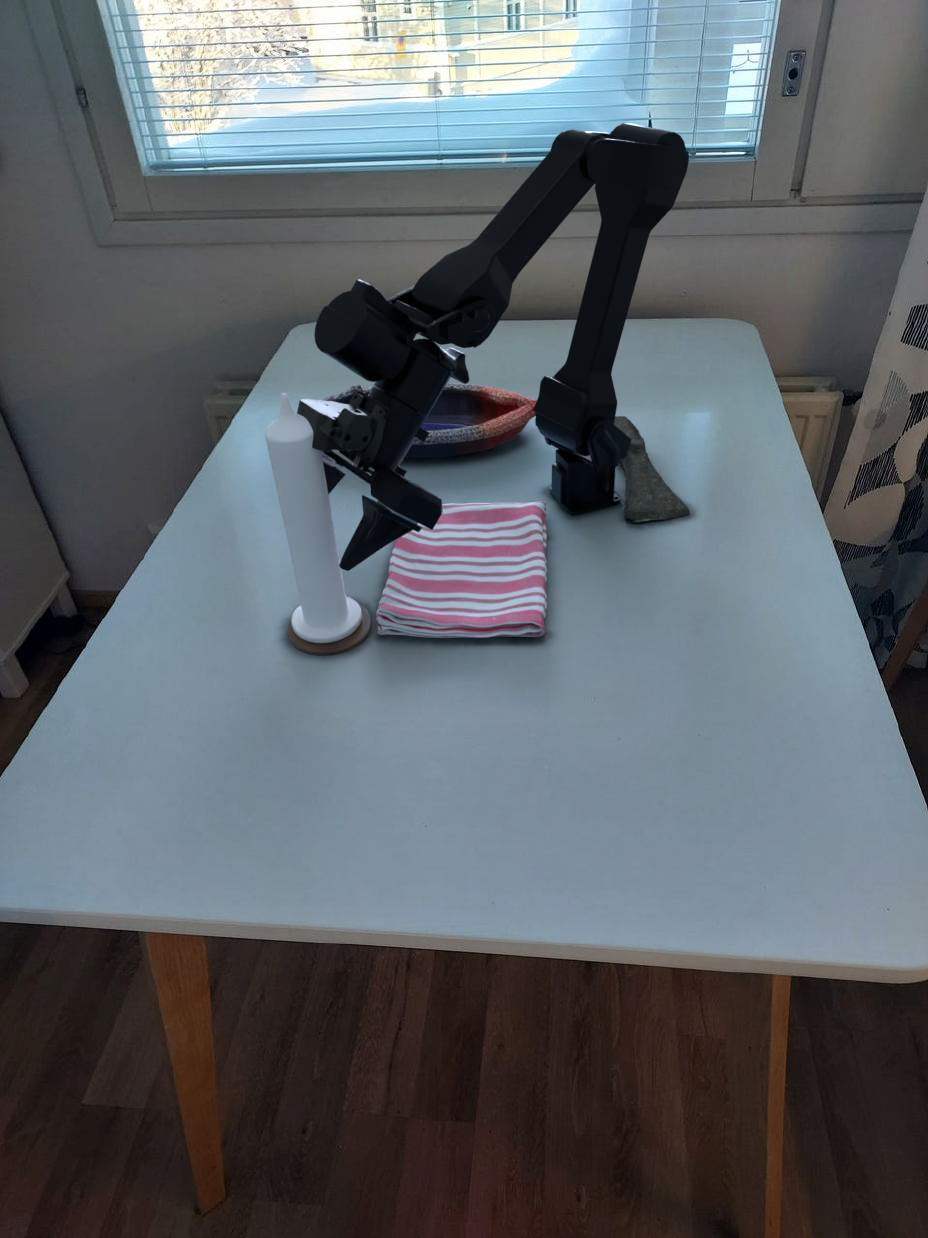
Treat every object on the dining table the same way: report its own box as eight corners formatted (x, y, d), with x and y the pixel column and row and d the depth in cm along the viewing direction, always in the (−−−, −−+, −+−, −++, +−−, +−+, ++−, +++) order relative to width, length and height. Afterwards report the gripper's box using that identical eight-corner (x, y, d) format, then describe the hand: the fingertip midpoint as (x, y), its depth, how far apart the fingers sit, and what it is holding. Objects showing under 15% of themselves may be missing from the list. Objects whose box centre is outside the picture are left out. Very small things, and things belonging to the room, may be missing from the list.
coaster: (358, 593, 98) (357, 590, 98) (382, 640, 92) (381, 637, 92) (280, 614, 96) (279, 611, 96) (299, 664, 90) (298, 661, 89)
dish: (326, 409, 131) (321, 376, 127) (545, 410, 127) (545, 376, 124) (299, 466, 119) (293, 431, 116) (540, 469, 115) (540, 433, 112)
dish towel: (373, 643, 91) (369, 616, 89) (403, 512, 109) (400, 487, 107) (546, 645, 90) (547, 618, 88) (548, 512, 108) (548, 486, 105)
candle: (310, 594, 97) (265, 371, 81) (372, 604, 96) (339, 378, 80) (280, 637, 92) (225, 408, 76) (345, 649, 90) (303, 416, 74)
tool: (690, 526, 106) (695, 504, 104) (625, 531, 105) (630, 509, 103) (637, 425, 121) (641, 404, 119) (580, 428, 120) (583, 407, 118)
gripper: (284, 332, 85) (203, 480, 87) (402, 399, 73) (306, 567, 76) (366, 384, 94) (291, 517, 96) (483, 451, 82) (395, 601, 84)
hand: (317, 547), depth 88 cm, fingers open, 9 cm apart
